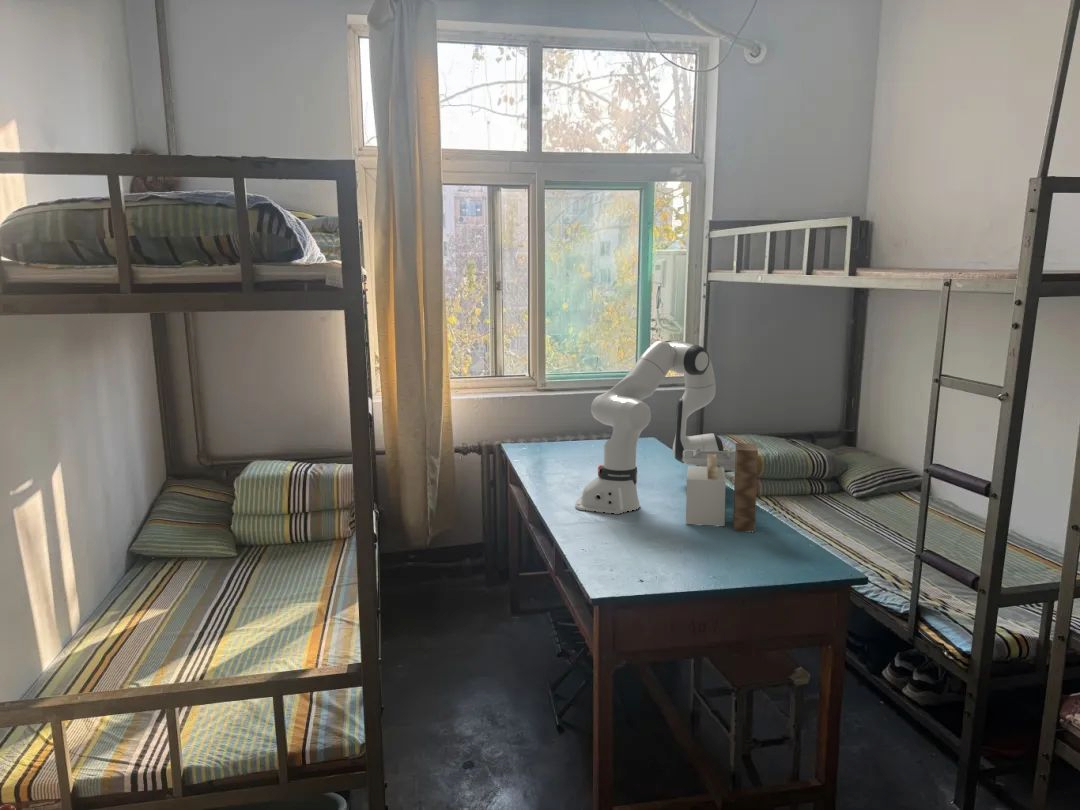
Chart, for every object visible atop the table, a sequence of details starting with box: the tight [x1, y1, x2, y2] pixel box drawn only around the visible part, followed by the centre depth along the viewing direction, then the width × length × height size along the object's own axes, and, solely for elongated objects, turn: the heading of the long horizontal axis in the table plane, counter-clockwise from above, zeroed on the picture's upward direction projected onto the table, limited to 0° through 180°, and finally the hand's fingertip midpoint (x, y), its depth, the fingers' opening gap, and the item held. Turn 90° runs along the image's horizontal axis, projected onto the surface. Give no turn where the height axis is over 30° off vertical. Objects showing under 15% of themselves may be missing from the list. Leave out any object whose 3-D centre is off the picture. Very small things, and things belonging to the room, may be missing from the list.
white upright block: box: [685, 465, 727, 527], centre depth 240 cm, size 12×18×15 cm, turn 168°
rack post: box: [732, 442, 759, 533], centre depth 229 cm, size 6×10×26 cm, turn 168°
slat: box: [707, 454, 718, 479], centre depth 243 cm, size 3×24×2 cm, turn 168°
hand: (711, 451), depth 255 cm, fingers open, 8 cm apart
